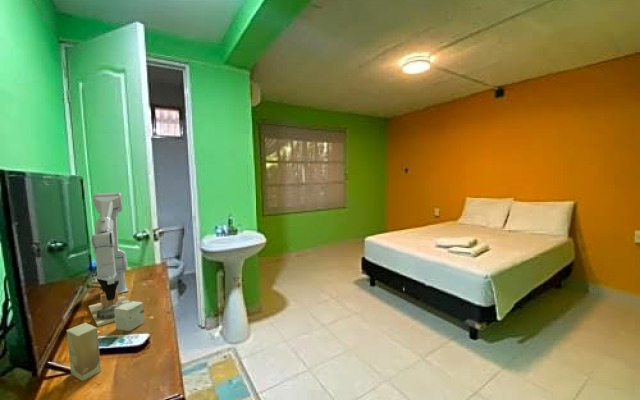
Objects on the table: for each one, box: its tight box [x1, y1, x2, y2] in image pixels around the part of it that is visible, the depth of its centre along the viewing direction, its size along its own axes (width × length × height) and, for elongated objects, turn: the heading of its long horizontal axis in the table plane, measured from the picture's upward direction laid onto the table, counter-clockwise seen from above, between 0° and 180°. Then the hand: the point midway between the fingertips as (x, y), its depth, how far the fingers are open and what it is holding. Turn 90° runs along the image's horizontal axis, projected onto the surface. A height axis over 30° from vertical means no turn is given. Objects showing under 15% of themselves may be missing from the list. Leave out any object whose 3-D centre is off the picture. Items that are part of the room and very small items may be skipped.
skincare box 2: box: [114, 300, 146, 332], centre depth 98 cm, size 6×6×7 cm
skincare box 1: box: [66, 322, 102, 382], centre depth 75 cm, size 6×4×12 cm
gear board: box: [88, 295, 130, 328], centre depth 110 cm, size 20×12×4 cm, turn 45°
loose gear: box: [99, 290, 119, 306], centre depth 112 cm, size 5×5×4 cm
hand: (109, 297), depth 112 cm, fingers open, 6 cm apart
